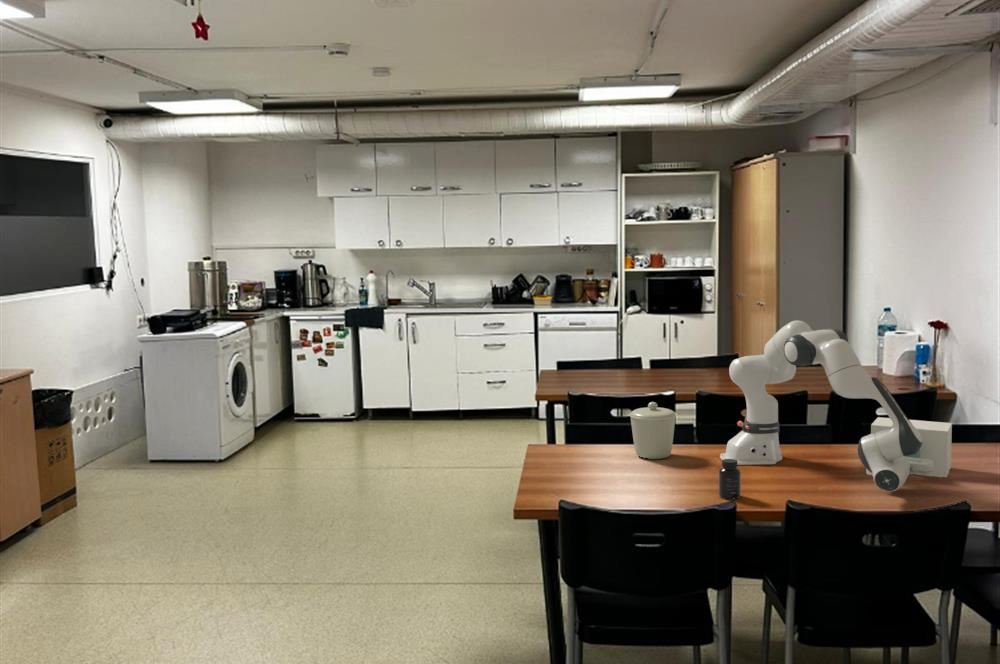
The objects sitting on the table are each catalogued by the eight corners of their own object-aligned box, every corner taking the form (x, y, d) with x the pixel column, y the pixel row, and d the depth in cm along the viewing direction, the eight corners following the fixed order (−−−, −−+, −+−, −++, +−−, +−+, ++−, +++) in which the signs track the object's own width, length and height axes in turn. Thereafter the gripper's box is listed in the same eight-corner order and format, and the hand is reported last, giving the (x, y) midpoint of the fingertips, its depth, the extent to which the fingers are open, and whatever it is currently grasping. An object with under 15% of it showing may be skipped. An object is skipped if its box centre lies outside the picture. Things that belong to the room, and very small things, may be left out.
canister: (674, 463, 325) (673, 407, 322) (625, 461, 331) (624, 406, 328) (680, 451, 342) (679, 398, 339) (634, 449, 348) (633, 396, 345)
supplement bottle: (715, 494, 286) (715, 458, 285) (736, 493, 287) (736, 457, 285) (722, 500, 279) (722, 463, 278) (743, 499, 280) (743, 462, 279)
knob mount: (946, 477, 296) (947, 431, 294) (870, 469, 309) (871, 424, 307) (950, 467, 308) (951, 423, 306) (877, 460, 321) (877, 417, 319)
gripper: (931, 462, 273) (936, 451, 285) (861, 454, 284) (869, 445, 296) (931, 481, 274) (936, 470, 285) (861, 473, 285) (869, 463, 296)
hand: (901, 457), depth 291 cm, fingers closed
